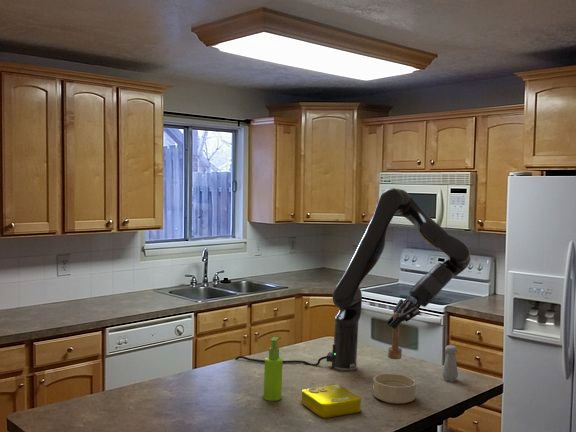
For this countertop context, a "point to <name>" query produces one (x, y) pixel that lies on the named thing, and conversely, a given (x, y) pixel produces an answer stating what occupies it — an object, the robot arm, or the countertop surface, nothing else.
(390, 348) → the wooden pestle
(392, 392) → the bowl
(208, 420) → the countertop surface
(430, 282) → the robot arm
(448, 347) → the salt shaker
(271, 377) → the soap dispenser
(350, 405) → the element tile
